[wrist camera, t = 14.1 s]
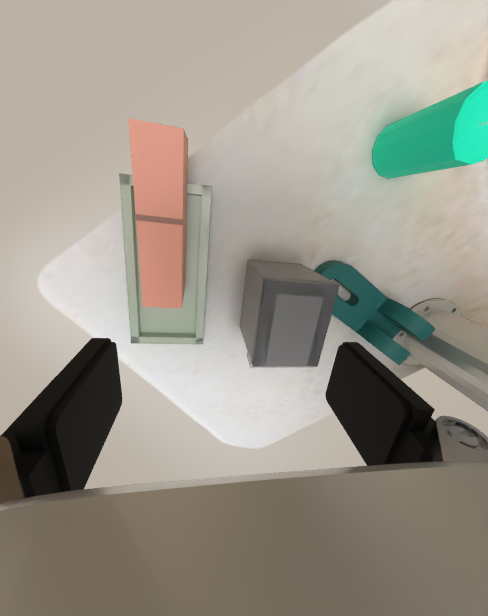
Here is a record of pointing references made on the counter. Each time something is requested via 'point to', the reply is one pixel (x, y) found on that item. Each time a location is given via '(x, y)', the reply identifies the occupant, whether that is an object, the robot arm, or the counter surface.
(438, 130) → the candle
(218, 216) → the counter surface
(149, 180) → the terracotta pink bar
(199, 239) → the tray
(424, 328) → the bracket
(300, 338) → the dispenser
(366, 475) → the robot arm
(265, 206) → the counter surface
